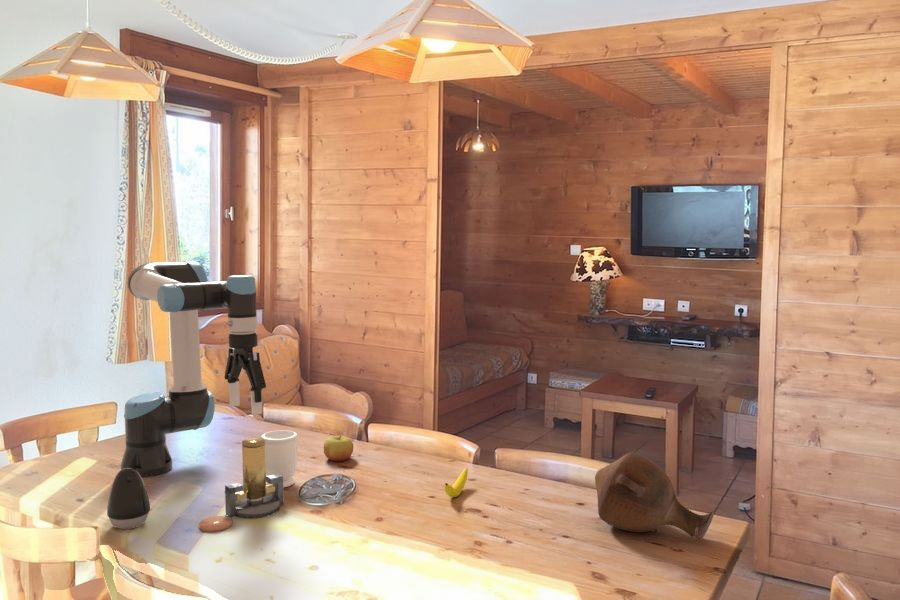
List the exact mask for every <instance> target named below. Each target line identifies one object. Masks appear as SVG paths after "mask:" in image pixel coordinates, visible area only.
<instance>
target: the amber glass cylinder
mask: <svg viewBox="0 0 900 600" xmlns="http://www.w3.org/2000/svg"><path fill="white" fill-rule="evenodd" d="M241 444H242V445H241V448H242V483H243V484H242V485H243V491H240V492H236V493H235V497H236V500H237V501H238V500H242V499H246V498H247V499H258V498H262V497H264V496H266V494H270V493H273V492H275V486H274V485H272V484H270V485H266V458H265V439H262V437H250V438H245V439H243V440H242V442H241Z"/></svg>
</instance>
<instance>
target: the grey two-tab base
mask: <svg viewBox="0 0 900 600" xmlns="http://www.w3.org/2000/svg"><path fill="white" fill-rule="evenodd" d="M266 482H268V483H269V484H273V485H274V486H275V492H272V493H273V494H270V493H267V494H266V496H264V497H262V498H258V499H247V498H246V499H242V500H238V501H237V500H236V497H235V493H237V492H241V491H243V484H242V483H240V482H234V483H230V484H225V485H224V493H225V495H224V497H225V498H224V500H225V516H227V515H228V516H227V517H229V518H231V519H232V518H235V516H236V518H241V519H260V518H265V517H268V515H269V516H271V515H273V513H274V514H275V513H277V512H278V511H279V510H280V508H281V507H280V506H281V505H284V488H283V476H282V475H280V474H278V473H277V474H273V475H268V476H266Z"/></svg>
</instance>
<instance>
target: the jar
mask: <svg viewBox="0 0 900 600" xmlns="http://www.w3.org/2000/svg"><path fill="white" fill-rule="evenodd" d="M297 437H298V432H295V431H293V430H287V429H286V430H272V431H267V432H264V433H263V434H261V437H260V438H262V439H265V458H266V476H268V475H273V474H277V473H278V474H280V475H282V476H283V489H285V488H287V487H290V486H292V485H294V484H295V479H294V476H295V473H296V470H297V463H298V444H297V440H296V439H297ZM266 485H270V484H269V483H268V482H266ZM272 485H273V484H272Z"/></svg>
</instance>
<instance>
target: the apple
mask: <svg viewBox="0 0 900 600" xmlns="http://www.w3.org/2000/svg"><path fill="white" fill-rule="evenodd" d="M323 453H324V455H325V458H326V459H328V460H330V461H332V462H345V461H347V460H348V459H350V457H351V456H352V455H353V453H354V443H353V441H352V440H351V438H350V437H347V436H345V435H333V436H330V437H328V438H326V440H325V441H324V443H323Z"/></svg>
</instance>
